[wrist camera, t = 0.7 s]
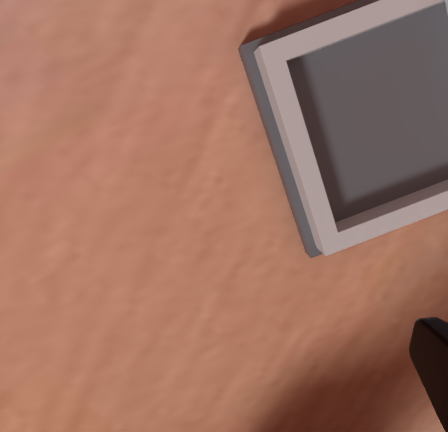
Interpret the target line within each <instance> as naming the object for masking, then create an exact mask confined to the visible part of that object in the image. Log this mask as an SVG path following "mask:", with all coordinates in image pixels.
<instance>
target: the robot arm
mask: <svg viewBox="0 0 448 432" xmlns="http://www.w3.org/2000/svg"><path fill="white" fill-rule="evenodd" d="M409 352H410V356H411V359H412V362H413V364H414V366H415V368H416V370H417V372H418V375H419V377H420V379H421V381H422V383H423V385H424V388H425V390H426V392H427V394H428V396H429V398H430V401H431V403H432V405H433V407H434V409H435V411H436V414H437V416H438V418H439V420H440V422H441V424H442V426H443V428H444V430H445V431H446V432H448V323H447V322H445V321H443V320H441V319H439V318H437V317H429V318H420V319H417V320H416V322H415V324H414V328H413V333H412V337H411V341H410V346H409Z"/></svg>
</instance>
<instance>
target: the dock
mask: <svg viewBox="0 0 448 432" xmlns="http://www.w3.org/2000/svg"><path fill="white" fill-rule="evenodd" d="M238 50H239V53H240V56H241V59H242V62H243V65H244V68H245V71H246V74H247V77H248V80H249V83H250V86H251V89H252V92H253V95H254V98H255V101H256V104H257V107H258V110H259V113H260V116H261V119H262V122H263V125H264V128H265V131H266V134H267V137H268V140H269V143H270V146H271V149H272V152H273V155H274V158H275V161H276V164H277V167H278V170H279V174H280V177H281V180H282V183H283V186H284V189H285V192H286V195H287V198H288V201H289V204H290V207H291V210H292V213H293V216H294V219H295V222H296V225H297V228H298V231H299V234H300V237H301V240H302V243H303V246H304V249H305V252H306V253H307V254H308V256H309V257H310V258H313V257H315V256H318V255H320V254H324V255H325V256H327V255H330V254H333V253H335V252H338V251H341V250H343V249H346V248H348V247H351V246H354V245H356V244H359V243H361V242H364V241H367V240H369V239H372V238H374V237H377V236H380V235H382V234H385V233H387V232H390V231H393V230H395V229H398V228H401V227H403V226H406V225H408V224H411V223H414V222H416V221H419V220H421V219H424V218H427V217H429V216H432V215H434V214H437V213H440V212H442V211H445V210H448V0H358V1H356V2H353V3H351V4H348V5H345V6H343V7H340V8H338V9H335V10H332V11H330V12H327V13H324V14H322V15H319V16H317V17H314V18H311V19H309V20H306V21H303V22H301V23H298V24H296V25H293V26H290V27H288V28H285V29H282V30H280V31H277V32H275V33H272V34H269V35H267V36H264V37H262V38H259V39H256V40H254V41H251V42H248V43H246V44H243V45H241V46H240V47H239V49H238Z"/></svg>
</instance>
